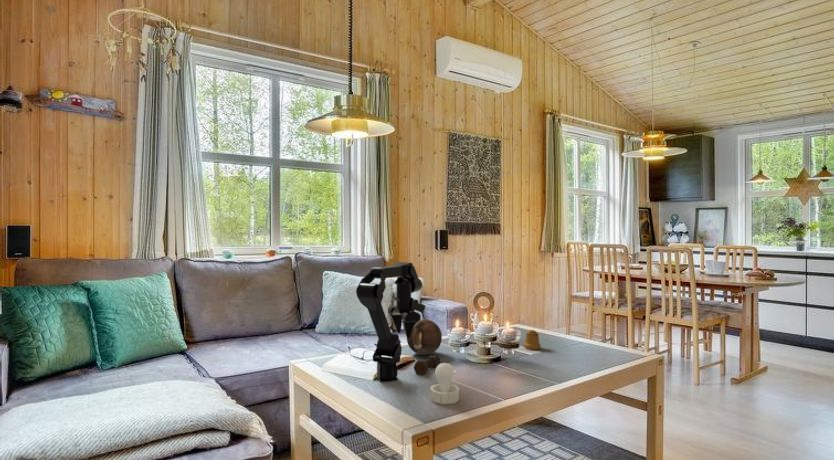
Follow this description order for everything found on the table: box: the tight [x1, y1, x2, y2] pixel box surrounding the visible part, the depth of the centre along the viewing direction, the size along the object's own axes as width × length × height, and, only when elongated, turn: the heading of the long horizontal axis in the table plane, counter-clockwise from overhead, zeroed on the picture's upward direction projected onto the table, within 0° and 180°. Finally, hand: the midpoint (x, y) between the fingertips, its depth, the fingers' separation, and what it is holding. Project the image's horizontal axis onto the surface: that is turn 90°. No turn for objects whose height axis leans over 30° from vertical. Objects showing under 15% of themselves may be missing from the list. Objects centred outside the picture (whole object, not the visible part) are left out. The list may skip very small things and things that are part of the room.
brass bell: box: [523, 329, 541, 351], centre depth 218 cm, size 8×8×8 cm
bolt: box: [413, 355, 441, 376], centre depth 186 cm, size 6×5×15 cm
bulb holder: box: [430, 383, 460, 406], centre depth 155 cm, size 9×9×4 cm
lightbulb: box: [434, 362, 455, 393], centre depth 155 cm, size 6×6×11 cm
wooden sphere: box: [406, 318, 443, 356], centre depth 206 cm, size 15×15×15 cm
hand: (403, 335), depth 186 cm, fingers open, 9 cm apart
